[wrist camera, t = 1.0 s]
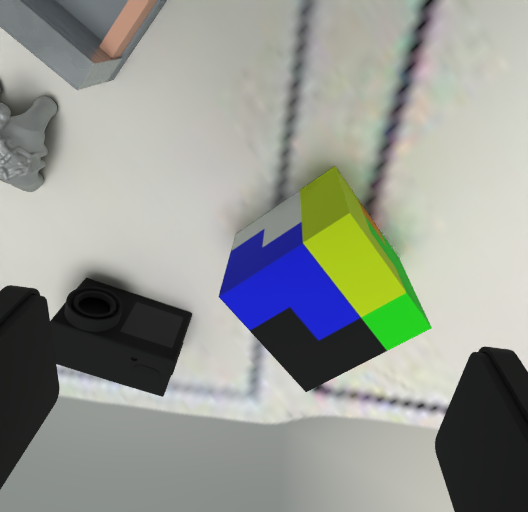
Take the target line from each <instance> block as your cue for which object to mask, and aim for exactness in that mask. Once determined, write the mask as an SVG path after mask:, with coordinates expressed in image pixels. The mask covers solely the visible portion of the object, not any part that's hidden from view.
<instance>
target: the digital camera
mask: <svg viewBox="0 0 528 512" xmlns="http://www.w3.org/2000/svg"><path fill="white" fill-rule="evenodd" d="M191 317H192V313H189V312H186V311H184V310H181V309H178V308H175V307H172V306H169V305H166V304H163V303H160V302H157V301H154V300H151V299H148V298H145V297H142V296H139V295H136V294H133V293H130V292H127V291H124V290H121V289H118V288H115V287H112V286H109V285H106V284H103V283H100V282H97V281H94V280H91V279H88V278H86V279H85V280H84V281H83V282H82V283H81V284H80V286H79V287H78V288H77V289H76V290H74V291H72V292H71V293H70V294H69V295H68V297H67V300H66V303H65V304H64V305H63V306H62V308H61V309H60V310H59V311H58V312H57V314H56V315H55V316H54V317H53V319H52V320H51V321H50V326H51V333H52V340H53V346H54V353H55V360H56V364H58V365H61V366H64V367H68V368H71V369H74V370H77V371H80V372H84V373H87V374H90V375H93V376H96V377H100V378H103V379H106V380H109V381H113V382H116V383H119V384H122V385H126V386H129V387H132V388H136V389H139V390H142V391H145V392H149V393H152V394H155V395H159V396H162V397H163V396H164V393H165V391H166V388H167V385H168V382H169V380H170V377H171V375H172V374H173V372H174V369H175V366H176V363H177V360H178V357H179V354H180V351H181V348H182V345H183V340H184V337H185V335H186V332H187V329H188V326H189V323H190V320H191Z"/></svg>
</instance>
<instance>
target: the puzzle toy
mask: <svg viewBox="0 0 528 512" xmlns="http://www.w3.org/2000/svg"><path fill="white" fill-rule="evenodd" d="M219 298H220V299H221V300H222V301H223V302H224V303H225V304H226V305H227V306H228V307H229V309H230V310H231V311H232V312H233V313H234V314H235V315H236V316H237V317H238V318H239V319H240V321H241V322H242V323H243V324H244V325H245V326H246V327H247V328H248V329H249V330H250V331H251V333H252V334H253V335H254V336H255V337H256V338H257V339H258V340H259V341H260V342H261V343H262V345H263V346H264V347H265V348H266V349H267V350H268V351H269V352H270V353H271V354H272V356H273V357H274V358H275V359H276V360H277V361H278V362H279V363H280V364H281V365H282V366H283V368H284V369H285V370H286V371H287V372H288V373H289V374H290V375H291V376H292V377H293V378H294V380H295V381H296V382H297V383H298V384H299V385H300V386H301V387H302V388H303V389H304V390H305V392H307V391H309V390H311V389H313V388H315V387H317V386H319V385H321V384H323V383H325V382H327V381H329V380H331V379H333V378H335V377H337V376H339V375H341V374H343V373H345V372H347V371H348V370H350V369H352V368H354V367H356V366H358V365H360V364H362V363H364V362H366V361H368V360H370V359H372V358H374V357H376V356H378V355H380V354H382V353H384V352H386V351H388V350H390V349H392V348H394V347H396V346H397V345H399V344H401V343H403V342H405V341H407V340H409V339H411V338H413V337H415V336H417V335H419V334H421V333H423V332H425V331H427V330H429V329H431V326H430V323H429V321H428V319H427V317H426V315H425V313H424V311H423V308H422V306H421V304H420V302H419V300H418V298H417V296H416V293H415V291H414V289H413V287H412V285H411V283H410V281H409V279H408V276H407V274H406V272H405V270H404V268H403V266H402V264H401V261H400V259H399V258H398V256H397V255H396V253H395V252H394V250H393V249H392V248H391V246H390V245H389V243H388V242H387V240H386V239H385V237H384V236H383V235H382V233H381V232H380V230H379V229H378V227H377V226H376V224H375V223H374V222H373V220H372V219H371V217H370V216H369V214H368V213H367V211H366V210H365V209H364V207H363V206H362V204H361V203H360V201H359V200H358V198H357V197H356V196H355V194H354V193H353V191H352V190H351V188H350V187H349V185H348V184H347V183H346V181H345V180H344V178H343V177H342V175H341V174H340V172H339V171H338V170H337V168H336V167H335V166H334V167H333V168H331V169H330V170H329V171H327V172H326V173H324V174H323V175H321V176H320V177H318V178H317V179H315V180H314V181H312V182H311V183H310V184H308V185H307V186H305V187H304V188H302V189H301V190H299V191H298V192H296V193H295V194H294V195H292V196H291V197H289V198H288V199H286V200H285V201H283V202H282V203H280V204H279V205H277V206H276V207H275V208H273V209H272V210H270V211H269V212H267V213H266V214H264V215H263V216H261V217H260V218H259V219H257V220H256V221H254V222H253V223H251V224H250V225H248V226H247V227H245V228H244V229H243V230H241V231H240V232H238V233H237V234H236V235H235V238H234V242H233V246H232V249H231V253H230V257H229V260H228V264H227V268H226V271H225V275H224V279H223V283H222V286H221V290H220V294H219Z"/></svg>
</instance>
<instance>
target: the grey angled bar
mask: <svg viewBox="0 0 528 512" xmlns="http://www.w3.org/2000/svg"><path fill="white" fill-rule="evenodd" d="M0 27H1V28H2V29H4V30H5V31H6V32H7V33H8V34H10V35H11V36H12V37H13V38H14V39H16V40H17V41H18V42H19V43H21V44H22V45H23V46H24V47H25V48H27V49H28V50H29V51H30V52H31V53H33V54H34V55H35V56H36V57H37V58H39V59H40V60H41V61H42V62H44V63H45V64H46V65H47V66H48V67H50V68H51V69H52V70H53V71H54V72H56V73H57V74H58V75H59V76H61V77H62V78H63V79H64V80H65V81H67V82H68V83H69V84H70V85H71V86H73V87H74V88H75V89H76V90H79V89H83V88H86V87H90V86H93V85H97V84H100V83H104V82H107V81H108V79H109V78H110V76H111V75H112V73H113V72H114V70H115V69H116V67H117V66H118V64H119V63H120V61H121V60H122V58H121V57H113V58H111V57H110V56H109V55H108V54H107V53H106V52H105V51H103V50H102V49H101V48H100V47H99V46H100V44H101V43H102V40H101V39H100V38H98V37H97V36H96V35H95V34H94V33H93V32H92V31H90V30H89V29H88V28H87V27H86V26H85V25H84V24H82V23H81V22H80V21H79V20H78V19H77V18H76V17H74V16H73V15H72V14H71V13H70V12H69V11H68V10H66V9H65V8H64V7H63V6H62V5H61V4H60V3H58V2H57V1H56V0H0Z"/></svg>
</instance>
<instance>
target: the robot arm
mask: <svg viewBox="0 0 528 512" xmlns="http://www.w3.org/2000/svg"><path fill="white" fill-rule="evenodd" d="M58 394H59V381H58V374H57V367H56V360H55V353H54V346H53V340H52V333H51V326H50V319H49V312H48V305H47V300H46V298H45V297H43V296H40V293H39V291H38V290H37V289H35V288H27V287H19V286H11V285H10V286H6V287H5V288H3V289H2V290H1V291H0V489H1V487H2V486H3V484H4V483H5V481H6V480H7V478H8V476H9V475H10V473H11V472H12V470H13V469H14V467H15V466H16V464H17V462H18V461H19V459H20V458H21V456H22V455H23V453H24V452H25V450H26V448H27V447H28V445H29V443H30V442H31V441H32V439H33V437H34V436H35V434H36V433H37V431H38V430H39V428H40V427H41V425H42V423H43V422H44V420H45V419H46V417H47V416H48V414H49V412H50V411H51V409H52V408H53V406H54V405H55V403H56V401H57V398H58ZM435 450H436V455H437V458H438V461H439V464H440V467H441V470H442V473H443V476H444V480H445V483H446V486H447V489H448V492H449V495H450V498H451V501H452V505H453V508H454V511H455V512H528V372H527V370H526V369H525V367H524V366H523V364H522V363H521V361H520V360H519V358H518V356H517V355H516V354H515V353H514V352H513V351H512V350H508V349H500V348H492V347H482V348H481V349H480V350H479V351H478V352H473V353H472V354H471V355H470V357H469V359H468V362H467V364H466V366H465V369H464V371H463V374H462V376H461V378H460V381H459V383H458V386H457V388H456V390H455V393H454V395H453V398H452V400H451V402H450V405H449V407H448V410H447V412H446V414H445V417H444V419H443V422H442V424H441V426H440V429H439V431H438V434H437V436H436V441H435Z"/></svg>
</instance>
